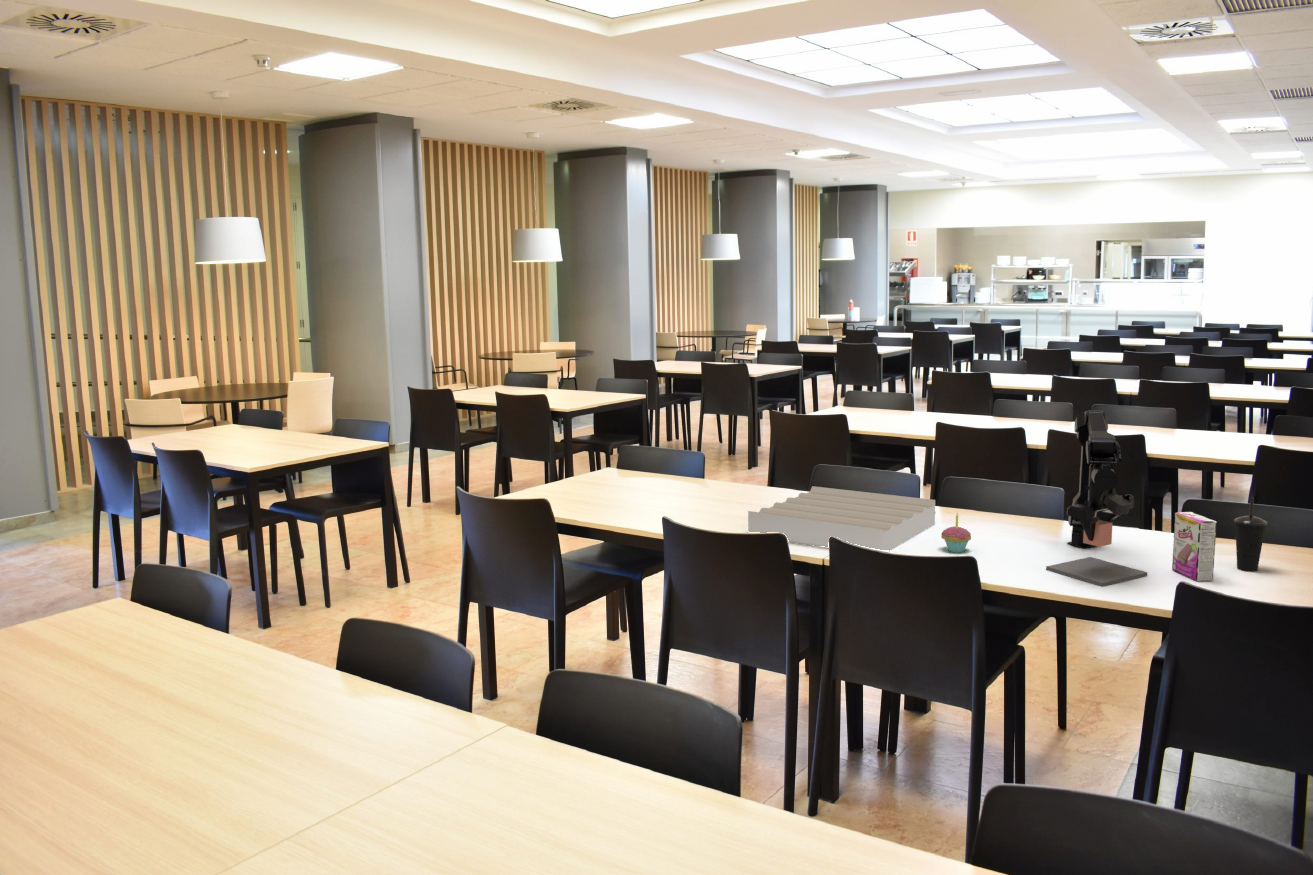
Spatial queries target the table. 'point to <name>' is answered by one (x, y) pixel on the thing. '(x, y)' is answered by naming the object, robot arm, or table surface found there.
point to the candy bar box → (1194, 546)
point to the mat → (1096, 571)
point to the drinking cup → (1249, 540)
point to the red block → (1100, 534)
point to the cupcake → (956, 537)
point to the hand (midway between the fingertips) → (1097, 539)
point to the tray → (846, 518)
